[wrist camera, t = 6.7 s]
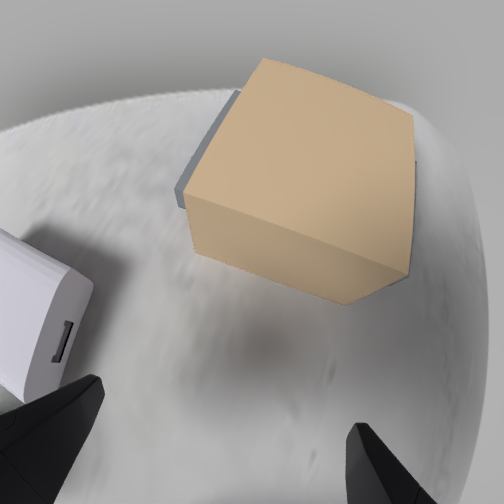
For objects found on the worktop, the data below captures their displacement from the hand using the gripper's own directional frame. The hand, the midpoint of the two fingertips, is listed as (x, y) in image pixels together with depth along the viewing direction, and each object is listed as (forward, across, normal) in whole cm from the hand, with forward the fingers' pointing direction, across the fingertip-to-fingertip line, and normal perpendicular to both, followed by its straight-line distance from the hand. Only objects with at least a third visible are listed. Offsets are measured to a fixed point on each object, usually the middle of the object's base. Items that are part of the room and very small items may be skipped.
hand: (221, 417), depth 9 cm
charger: (+7, +19, +4) cm, 20 cm away
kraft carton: (+16, -2, -4) cm, 17 cm away
